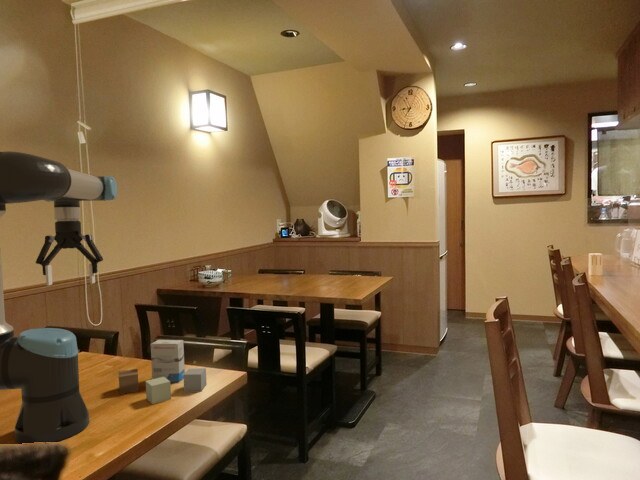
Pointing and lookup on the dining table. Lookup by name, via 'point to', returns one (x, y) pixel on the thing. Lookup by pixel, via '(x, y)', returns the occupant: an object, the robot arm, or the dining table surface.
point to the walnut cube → (128, 381)
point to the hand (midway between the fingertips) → (71, 284)
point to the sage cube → (158, 390)
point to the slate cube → (194, 380)
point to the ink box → (168, 359)
